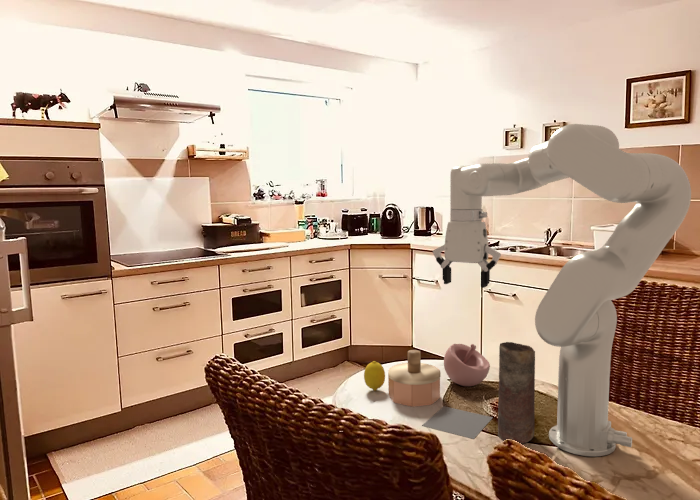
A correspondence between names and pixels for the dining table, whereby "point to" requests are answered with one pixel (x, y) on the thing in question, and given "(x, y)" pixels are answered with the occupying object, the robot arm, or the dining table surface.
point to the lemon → (374, 375)
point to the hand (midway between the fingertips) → (465, 285)
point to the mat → (458, 422)
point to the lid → (414, 371)
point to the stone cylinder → (516, 392)
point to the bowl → (414, 393)
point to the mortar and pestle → (465, 365)
